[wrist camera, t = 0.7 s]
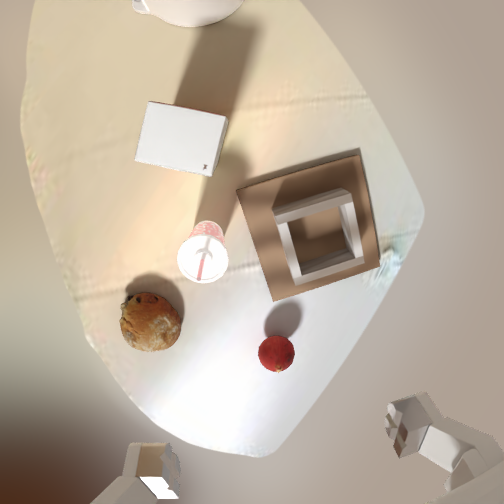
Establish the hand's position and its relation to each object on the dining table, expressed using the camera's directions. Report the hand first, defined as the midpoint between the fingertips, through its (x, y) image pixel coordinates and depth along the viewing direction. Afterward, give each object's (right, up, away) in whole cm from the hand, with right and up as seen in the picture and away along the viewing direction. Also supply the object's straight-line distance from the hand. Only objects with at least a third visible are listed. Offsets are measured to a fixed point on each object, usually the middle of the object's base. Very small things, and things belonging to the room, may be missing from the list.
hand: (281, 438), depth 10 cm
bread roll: (-18, -4, +41) cm, 45 cm away
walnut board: (+8, +10, +37) cm, 39 cm away
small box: (-9, +22, +31) cm, 39 cm away
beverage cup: (-7, +9, +36) cm, 38 cm away
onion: (+3, -8, +44) cm, 45 cm away
